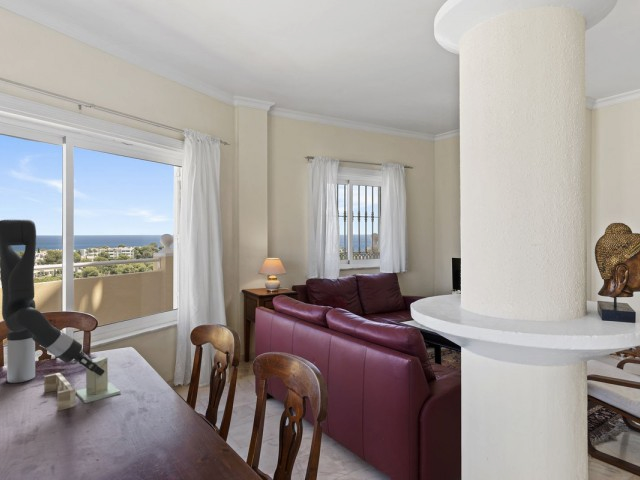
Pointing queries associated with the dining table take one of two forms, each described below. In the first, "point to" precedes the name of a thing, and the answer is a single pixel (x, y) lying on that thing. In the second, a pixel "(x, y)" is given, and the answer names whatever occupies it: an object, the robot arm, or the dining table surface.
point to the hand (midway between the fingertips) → (99, 370)
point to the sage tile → (92, 397)
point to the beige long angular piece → (60, 390)
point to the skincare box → (97, 377)
